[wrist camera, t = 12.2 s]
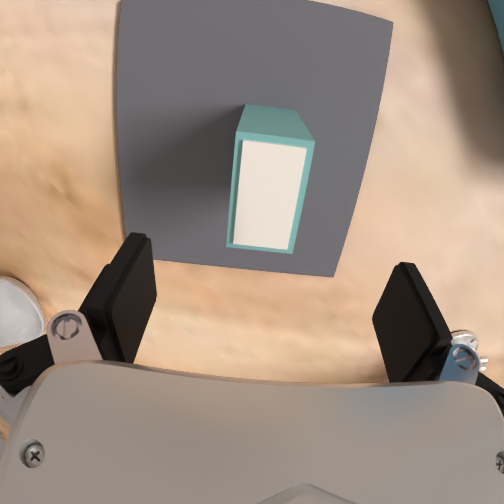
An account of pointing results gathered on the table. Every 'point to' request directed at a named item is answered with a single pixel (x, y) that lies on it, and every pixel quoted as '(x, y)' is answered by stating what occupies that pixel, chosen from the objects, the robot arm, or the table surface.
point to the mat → (229, 114)
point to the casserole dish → (498, 17)
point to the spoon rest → (19, 313)
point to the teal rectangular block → (268, 179)
